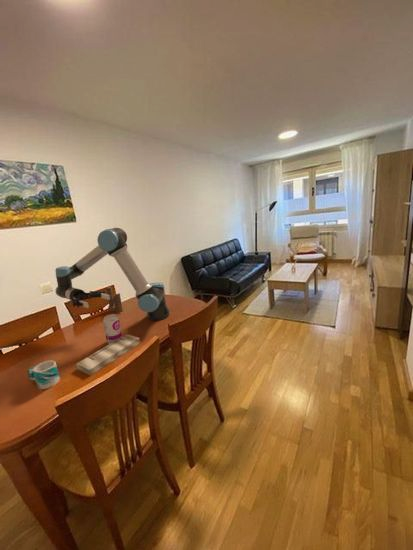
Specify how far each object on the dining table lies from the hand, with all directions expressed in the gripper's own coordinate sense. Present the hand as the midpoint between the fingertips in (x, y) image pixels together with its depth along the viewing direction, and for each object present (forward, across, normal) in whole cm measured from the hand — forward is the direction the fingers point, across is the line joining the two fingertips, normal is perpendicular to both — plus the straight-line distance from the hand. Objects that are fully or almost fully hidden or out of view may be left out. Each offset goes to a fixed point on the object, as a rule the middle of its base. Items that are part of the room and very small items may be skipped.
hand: (99, 301), depth 134 cm
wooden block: (-25, -30, -23) cm, 46 cm away
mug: (+9, +37, -23) cm, 45 cm away
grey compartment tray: (+19, +10, -22) cm, 31 cm away
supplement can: (+10, 0, -22) cm, 24 cm away
